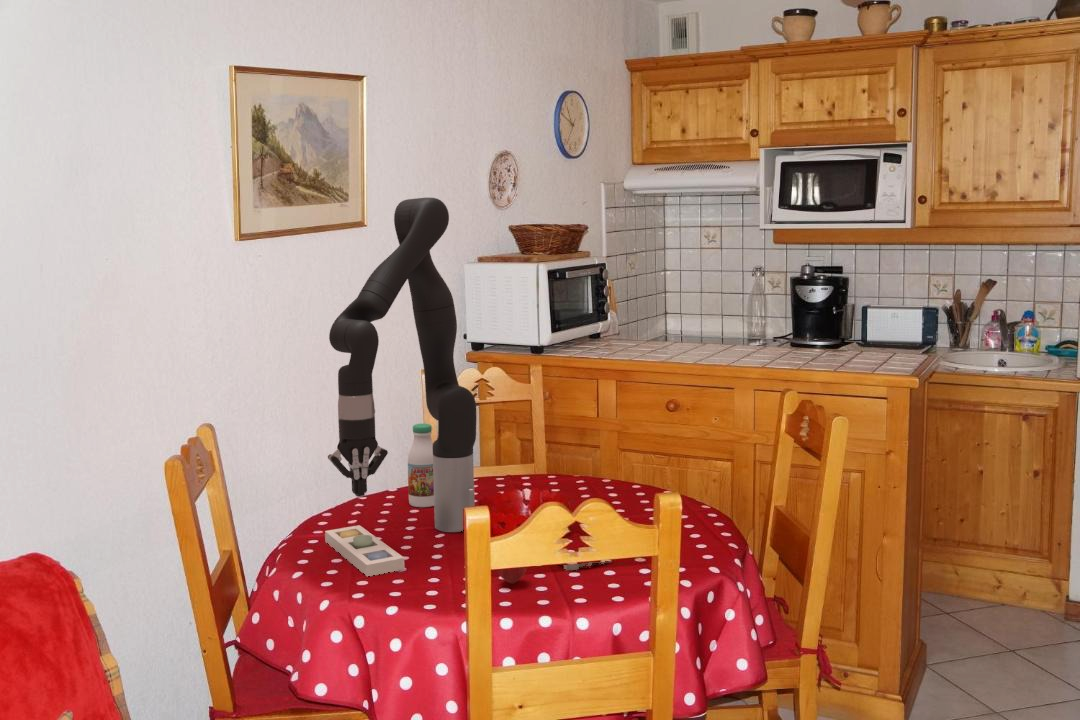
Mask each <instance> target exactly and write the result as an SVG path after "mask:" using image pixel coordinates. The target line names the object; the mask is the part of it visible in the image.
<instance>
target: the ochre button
mask: <svg viewBox="0 0 1080 720" xmlns="http://www.w3.org/2000/svg"><path fill="white" fill-rule="evenodd" d="M353 536H359V533H358V531H356V530H346V531H342V532H341V533H340V537H341V538H347V537H353Z"/></svg>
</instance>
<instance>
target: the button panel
mask: <svg viewBox="0 0 1080 720" xmlns="http://www.w3.org/2000/svg"><path fill="white" fill-rule="evenodd" d="M346 530H356V531H358V533H359V536H360V535H369V536H372V544H373V546H371V547H365V548H360V549H355V548H354V547H353V538H354V537H356V536H353V537H347V538H341V537H340V533H341V532H342V531H346ZM324 539H325V541H324V542H325V543H326V544H327V543H328V544H329V545H328V544H327V545H328V546H329V547H331V548H332V547H333V548H334V549H335V551H336V552H337V553H338V552H339V553H340V554H341V556H342V558H344V559H345V560H346V559H347V560H346V561H348V563H350V564H353V566H354V567H355V568H356V569H357V570H358V569H359V572H361V573H362V574H363V573H364V574H365V575H364V576H366V577H367V578H368V576H370V577H374V576H373V575H375V576H378V575H379V574H380V575H383V574H384V573H385V574H389V573H388V572H390V573H395V572H400V571H404V569H405V557H404V556H403V555H401V554H400V553H398V552H397V551H396V550H394V549H393V548H391V547H390V546H389V545H387V544H386V543H384V541H382V540H381V539H379V538H378V537H377V536H375V535H374V534H372V533H370V532H369V531H368V530H367V529H365V528H364V527H363V526H361V525H359V524H358V525H352V526H347V527H341V528H335V529H330V530H329V529H328V530H325V531H324ZM333 548H332V549H333ZM334 549H333V550H334ZM377 551H382V552H386V553H387V557H388V558H383V559H377V560H372V561H370V560H369V559H368V554H369V553H371V552H377ZM339 553H338V554H339ZM340 554H339V555H340ZM399 570H400V571H399ZM394 571H395V572H394ZM385 574H384V575H385Z"/></svg>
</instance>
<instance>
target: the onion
mask: <svg viewBox="0 0 1080 720" xmlns="http://www.w3.org/2000/svg"><path fill="white" fill-rule="evenodd" d="M527 568H528V567H527ZM527 568H515V569H505V570H498V569H497V573H498V575H499V577H501V579H503V580H504V581H505V582H507V583H508V584H511V585H514V584H516V583H517V582H518V581H519V580H520V579H522V578H523V576H525V574H526V571H527Z"/></svg>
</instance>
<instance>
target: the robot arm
mask: <svg viewBox="0 0 1080 720" xmlns="http://www.w3.org/2000/svg"><path fill="white" fill-rule="evenodd" d="M449 213H450V212H449V209H448V207H447V206H446V204H445V202H443V201H442V200H441V199H439V198H436V197H418V198H408V199H405V200H401V201H400V202H399V203H398V204H397V206H396V208H395V210H394V214H393V222H394V229H395V233H396V238H397V242H398V247H396V248H395V250H394V251H393V252H392V253H391V254H390V255H389V256H388V257H386V258H385V259H384V260H383V261H382V262H381V263H380V264H379V265H378V266H377V267H376V268H375V269H374V270H373V271H372V273H370V275H369V276H368V278H367V280H366V282H365V283H364V284H363V287H362V288H361V290H360V291H359V293H358V295H357V297H356V298H355V299H354V300H353V301H352V302H351V303H350V304H349V305H347V307H346V308H345V309H344V310H342V312H341V313H340V314H339V315H338V316H337V318H336V319H335V320H334V322H332V325H331V326H330V329H329V335H328V336H329V338H328V339H329V344H330V345H331V347H332V348H333V350H335V351H337V352H340V353H343V354H344V353H346V354H350V356H349V357H350V358H349V361H348V362H349V363H348V364H345V365H342V366H340V368H339V369H338V373H337V387H338V400H337V415H338V416H337V417H338V419H337V421H338V440H339V441H338V444H337V447H336V448H337V449H336V450H335V451H334V452H333V453H332V454H328V456H327V459H328V461H330V463H332V465H333V466H334V467H335V468H336V469H337V470H338V472H339V473H341V475H342V476H344V477H345V478H346V479H351V492H352V493H353V495H355V497H364V496H365V494H367V491H368V485H367V483H368V481H367V479H368V477H369V476H372V475H375V473H376V472H377V471H378V469H379V468H380V466H381V465H382V463H383V461H384V460H385V459H386V457H387V455H388V454H389V452H388V450H387V449H386V448H383V447H381V446H379V443H378V440H377V439H376V409H375V407H376V406H375V399H374V393H373V392H374V388H373V372H374V368H375V362H376V359H377V358H376V357H377V354H378V348H379V342H380V341H379V333H378V331H377V328H376V327H375V325H374V324H373V323H372V322H374V321H379V320H382V319H383V318H384V317H385V316H386V315H387V314H388V312H389V310H390V309H391V307H392V305H393V303H394V302H395V300H396V298H397V297H398V295H399V293H400V291H401V290H402V289H403V286H404V285H405V283H406V282H408V286H409V291H410V292H409V293H410V296H411V303H412V304H411V305H412V306H411V307H412V313H413V318H414V319H413V320H414V324H415V328H416V332H417V338H418V339H417V340H418V345H419V350H420V355H421V358H422V363H423V365H422V366H423V373H424V385H425V387H424V388H425V402H426V403H425V404H426V407H427V410H428V413H429V414H430V415H431V417H432V418H433V419H434V420H436V421H437V424H438V425H437V438H436V440H434V441H433V480H434V506H433V507H434V509H433V511H434V528H435V529H436V530H437V531H439V532H444V533H461V531H462V532H464V531H463V509H464V508H465V507H472V506H475V505H476V504H475V478H474V475H475V473H474V471H475V470H474V469H475V468H474V447H475V446H474V445H475V442H476V440H477V403H476V398H475V397H474V394H473V393H472V392H471V391H470V390H469V389H468V388H466V387H463V386H461V385H460V384H459V381H458V376H457V373H456V372H457V371H456V367H455V361H454V353H455V344H456V340H457V339H456V338H457V334H458V333H457V332H458V331H457V330H458V324H457V323H458V322H457V321H458V320H457V316H456V315H457V314H456V307H455V302H454V299H453V298H454V296H453V294H452V291H451V290H450V288H449V286H448V285H447V283H446V281H445V280H444V278H443V276H442V275H441V274H440V272H439V270H438V269H437V267H436V265H435V263H434V261H433V258H432V255H431V250H432V249H433V247H435V245H436V244H437V243H438V241H439V240H440V239H441V237H442V236H443V235H444V233H445V232H446V230H447V228H448V226H449V221H450V214H449ZM373 455H374V456H373ZM372 456H373V457H372ZM342 457H343V458H344V459H345V461H347V463H348V467H349V469H347V468H346V466H345V465H344V464H343V463H342V460H343V459H342ZM371 458H372V459H371ZM369 461H370V462H369ZM475 507H476V506H475Z"/></svg>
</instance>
